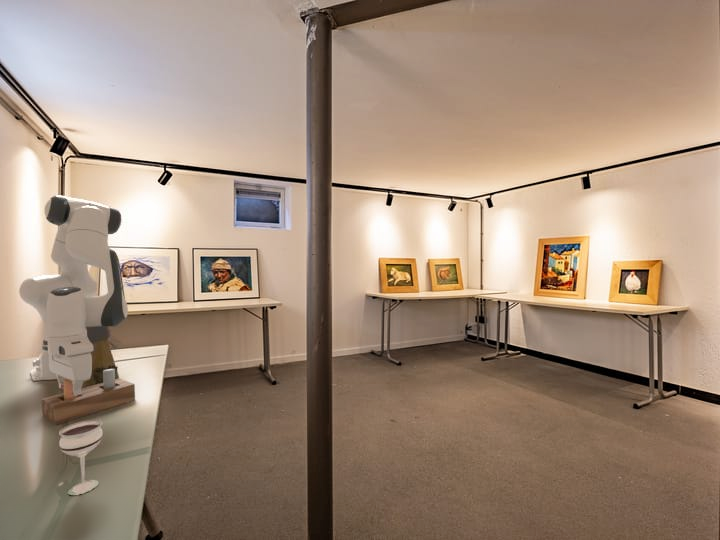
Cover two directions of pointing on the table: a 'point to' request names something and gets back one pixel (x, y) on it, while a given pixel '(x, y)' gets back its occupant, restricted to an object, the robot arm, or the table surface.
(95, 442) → the wineglass
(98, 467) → the table surface
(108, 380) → the seated peg
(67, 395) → the peg
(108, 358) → the windmill
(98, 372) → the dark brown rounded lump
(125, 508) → the table surface
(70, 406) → the peg block
